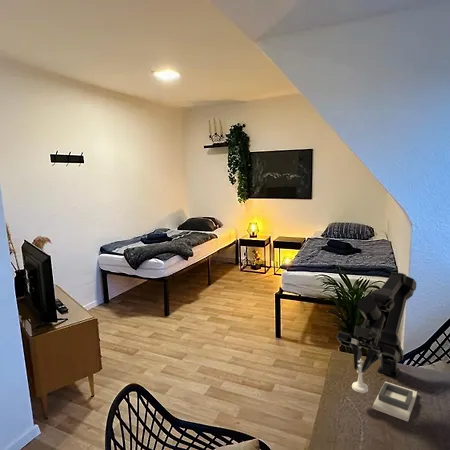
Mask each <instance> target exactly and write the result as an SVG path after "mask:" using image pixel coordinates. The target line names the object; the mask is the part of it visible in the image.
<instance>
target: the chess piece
mask: <svg viewBox="0 0 450 450" xmlns="http://www.w3.org/2000/svg"><path fill="white" fill-rule="evenodd" d="M364 362H365V360H362V358H361V359H360V361H358V364H357V366H358V368H357V370H356V372H357V374H358V376H357V381H354V382H353V383H352V385H351V388H352V390H354V391H355V392H357V393H361V394H365V393H368V391H369V386H368V385H367V384H366V383H364V382H363V381H364V379H363V375H364V374H365V372H364V373H362V367H363V365H364Z"/></svg>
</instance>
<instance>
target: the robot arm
mask: <svg viewBox="0 0 450 450" xmlns="http://www.w3.org/2000/svg"><path fill="white" fill-rule="evenodd" d="M389 274H390V275H389V277H388V278H387V280H386V281H385V282H384V283H383V285H382V286H381V288H377V289H374V290H373V291H372V292H371V293H370V294H367V295H366V296H365V297H362V298H361V299H360V300H359V301H358V302H357V307H358V310H359V311H360V313H361V315H362V316H363V318H364V321H363V323H362V324H361V325H360V326H359V325H355V326H354V332H353V336H354V337H355V336H356V338H357V339H356V338H354V337H353V336H352V334H351V333H348V332H344V331H342V330H340V331H338V332H337V334H336V339H337V341H338V342H339V343H340V345H342V346H346V347H348V348H351V349H352V352H353V367H354V370H355V371H357V370H358V366H357V364H358V361H360V359H362V355H363V351H362V348H363V349H367V353H366V354H367V355H366V357H365V359H364V363H363V367H362V373H364V374H365V372H366V371H367V370H368V369H369V368H370V367H371V366H372V365H374V363H375V362H377V361H378V360H380V364H379V367H378V368H377V372H378V373H380V374H384V375H388V376H390V377H393V378H396V377H397V376H398V375H399V372H400V368H399V367H398V363H399V362H400V361H403V360H404V350H403V348H402V346H401V340H400V337H399V331H400V327H401V323H402V320H403V315H404V312H405V308H406V304H407V301H408V300H409V299H410V298H411V297H412V296H413V295H414V292H416V289H417V281H416V280H415V279H414V278H412V277H410V276H407V274H406V273H402V272H397V271H396V272H395V271H393V272H392V271H391V272H390V273H389ZM382 311H384V312H387V313H388V317H387V319H386V316H385V314H384V313H383V312H382ZM385 322H386V323H385ZM384 323H385V327H384ZM383 327H384V329H383Z"/></svg>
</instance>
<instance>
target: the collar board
mask: <svg viewBox="0 0 450 450" xmlns="http://www.w3.org/2000/svg"><path fill="white" fill-rule="evenodd" d="M381 386H382V387H381V388H380V390H379V392H378V394H377V397H376V398H375V400H374V402H373V404H372V409H373V410H376V411H378V412H381V413H383V414H387V415H389V416H392V417H394V418H397V419H399V420H402V421H405V422H409V420H410V417H411V414H412V411H413V408H414V405H415V403H416V399H417V396H418V391H417V390H416V391H415V390H413V389H410V388H407V387H404V386H400V385H397V384H394V383H391V382H388V381H384V383H383V384H382V385H381Z"/></svg>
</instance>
